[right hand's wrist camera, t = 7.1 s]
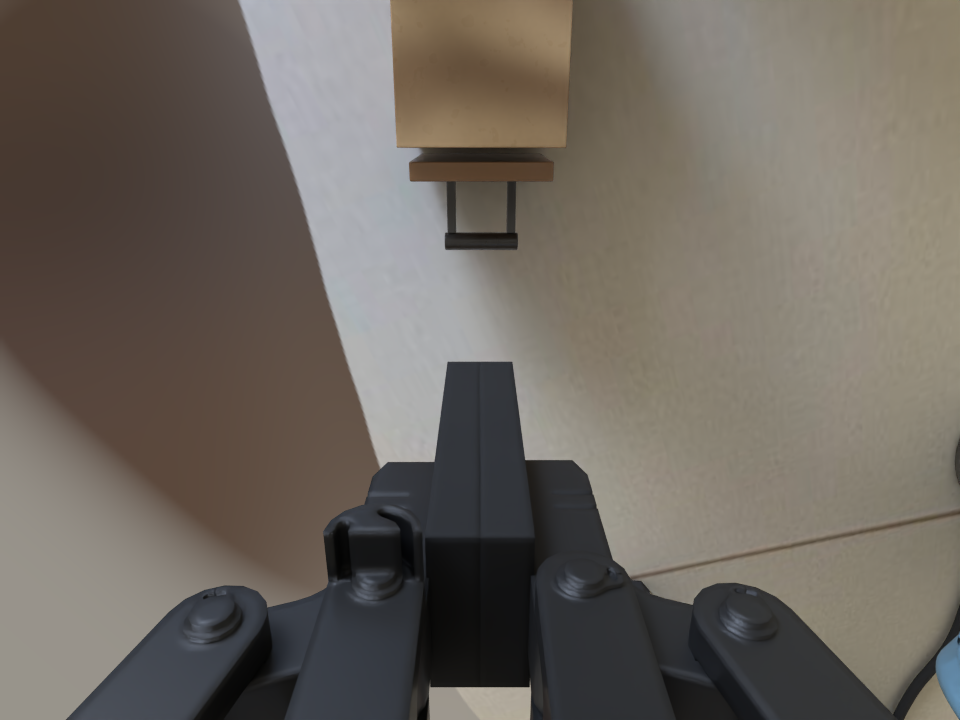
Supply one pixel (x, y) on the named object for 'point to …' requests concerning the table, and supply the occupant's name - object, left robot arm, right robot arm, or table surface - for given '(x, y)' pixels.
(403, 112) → the cabinet
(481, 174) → the drawer
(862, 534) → the table surface
